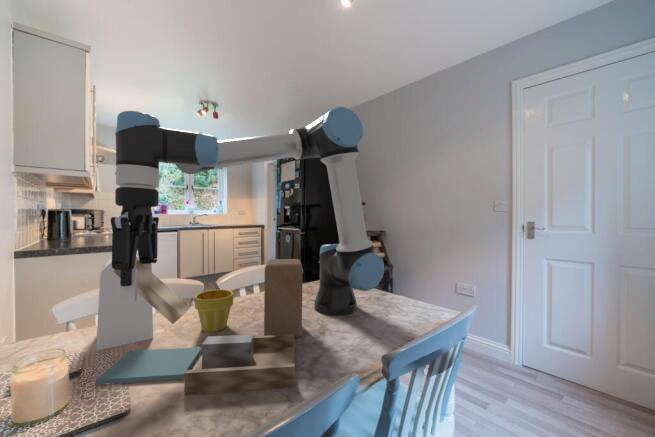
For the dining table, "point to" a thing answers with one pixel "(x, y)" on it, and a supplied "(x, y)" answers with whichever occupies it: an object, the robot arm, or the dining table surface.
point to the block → (283, 297)
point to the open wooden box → (243, 364)
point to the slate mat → (151, 365)
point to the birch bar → (158, 294)
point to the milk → (120, 313)
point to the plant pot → (214, 308)
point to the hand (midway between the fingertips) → (136, 296)
